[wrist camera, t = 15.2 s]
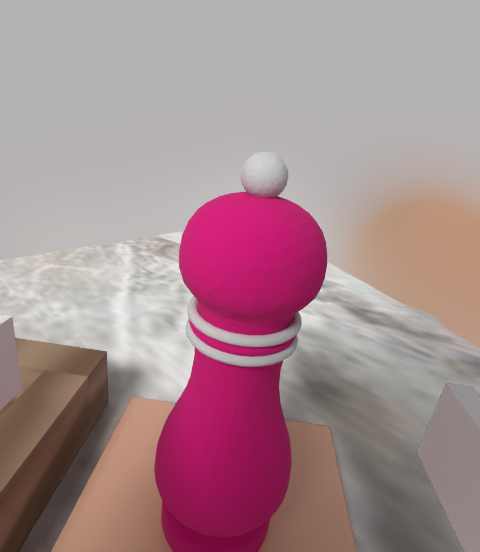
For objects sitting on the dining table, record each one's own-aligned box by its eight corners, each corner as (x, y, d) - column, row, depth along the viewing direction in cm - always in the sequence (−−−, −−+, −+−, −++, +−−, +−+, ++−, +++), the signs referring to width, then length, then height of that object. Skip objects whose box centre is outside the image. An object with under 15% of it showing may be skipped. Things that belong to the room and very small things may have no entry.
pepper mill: (131, 495, 20) (133, 133, 13) (227, 441, 25) (271, 148, 17) (196, 625, 15) (261, 157, 8) (302, 528, 20) (408, 170, 12)
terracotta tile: (326, 435, 28) (329, 426, 27) (395, 773, 13) (403, 762, 13) (132, 406, 28) (132, 396, 28) (-18, 703, 13) (-23, 691, 13)
